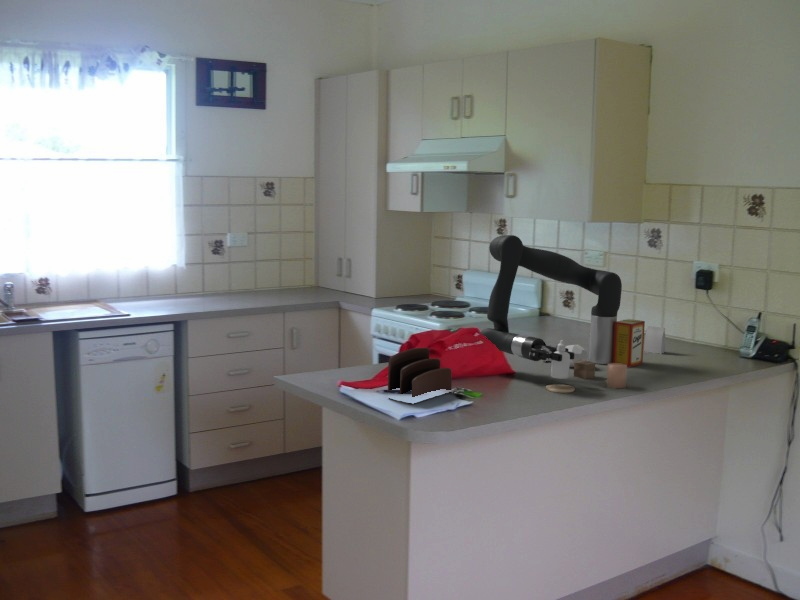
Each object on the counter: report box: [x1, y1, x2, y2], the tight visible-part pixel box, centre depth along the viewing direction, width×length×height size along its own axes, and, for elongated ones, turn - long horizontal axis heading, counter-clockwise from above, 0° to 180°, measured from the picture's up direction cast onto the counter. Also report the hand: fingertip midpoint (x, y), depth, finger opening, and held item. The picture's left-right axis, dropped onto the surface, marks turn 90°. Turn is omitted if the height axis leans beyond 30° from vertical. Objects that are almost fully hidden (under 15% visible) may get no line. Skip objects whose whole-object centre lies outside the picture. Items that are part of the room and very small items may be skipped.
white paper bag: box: [643, 325, 666, 355], centre depth 338 cm, size 4×7×10 cm, turn 52°
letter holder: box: [387, 347, 453, 397], centre depth 267 cm, size 10×20×14 cm, turn 141°
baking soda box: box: [613, 318, 645, 368], centre depth 316 cm, size 10×6×16 cm
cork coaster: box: [545, 383, 575, 394], centre depth 278 cm, size 9×9×1 cm
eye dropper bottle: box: [550, 339, 571, 380], centre depth 276 cm, size 4×6×12 cm
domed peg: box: [606, 363, 628, 389], centre depth 283 cm, size 6×6×7 cm
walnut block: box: [573, 360, 596, 380], centre depth 295 cm, size 5×5×5 cm
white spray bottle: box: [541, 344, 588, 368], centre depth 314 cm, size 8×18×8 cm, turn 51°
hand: (567, 357), depth 274 cm, fingers closed on eye dropper bottle, 5 cm apart
